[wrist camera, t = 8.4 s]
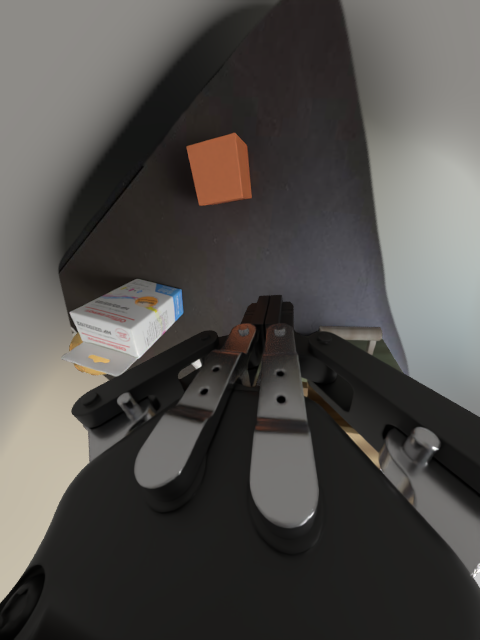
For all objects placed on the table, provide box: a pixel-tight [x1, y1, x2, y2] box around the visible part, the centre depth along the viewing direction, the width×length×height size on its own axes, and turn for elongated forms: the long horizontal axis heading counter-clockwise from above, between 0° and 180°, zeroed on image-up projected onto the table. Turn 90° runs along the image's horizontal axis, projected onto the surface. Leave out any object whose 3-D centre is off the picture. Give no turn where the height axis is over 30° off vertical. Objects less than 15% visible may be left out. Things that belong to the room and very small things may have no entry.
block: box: [186, 133, 252, 206], centre depth 19 cm, size 5×5×5 cm
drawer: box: [302, 326, 403, 428], centre depth 27 cm, size 20×11×8 cm, turn 8°
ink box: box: [61, 279, 183, 376], centre depth 26 cm, size 8×5×15 cm, turn 83°
